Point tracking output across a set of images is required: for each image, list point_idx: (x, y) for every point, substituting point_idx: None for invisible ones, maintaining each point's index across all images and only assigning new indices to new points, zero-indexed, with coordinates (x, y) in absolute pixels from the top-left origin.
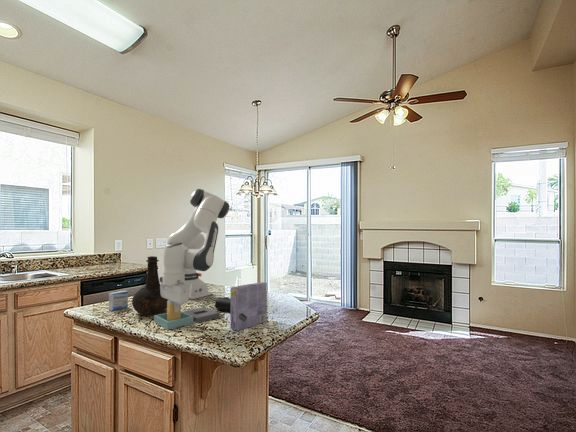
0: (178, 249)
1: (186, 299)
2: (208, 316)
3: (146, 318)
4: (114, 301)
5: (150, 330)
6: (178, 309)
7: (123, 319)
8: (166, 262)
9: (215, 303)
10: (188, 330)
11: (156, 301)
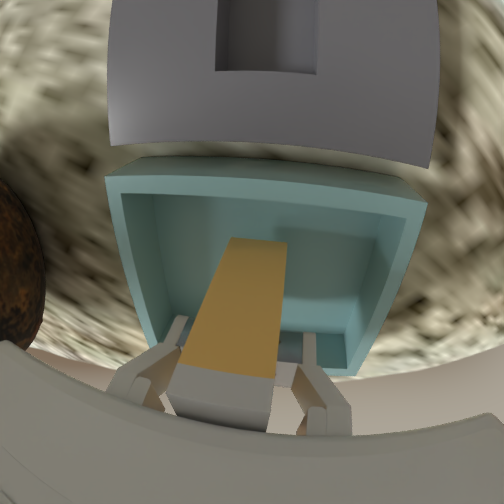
0: None
1: (498, 454)
2: (434, 36)
3: (71, 286)
4: None
5: None
6: (314, 346)
7: (63, 330)
8: None
9: None
10: (450, 270)
11: (11, 312)
